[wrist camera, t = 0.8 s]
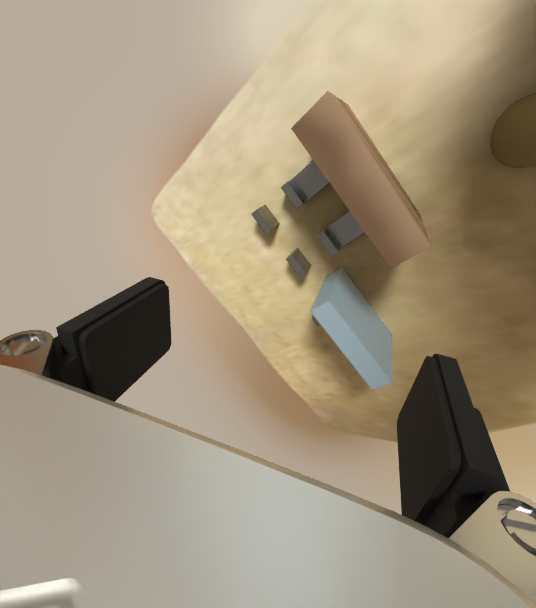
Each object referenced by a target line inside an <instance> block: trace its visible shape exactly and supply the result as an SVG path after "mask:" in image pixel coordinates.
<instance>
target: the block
mask: <svg viewBox="0 0 536 608" xmlns="http://www.w3.org/2000/svg"><path fill="white" fill-rule="evenodd" d="M310 312H311V313H312V314H313V317H312V318H313V321H314V323H315V324H316V325H317V326H320V325H321V326H322V327H323V328H324V329H325V331H326V332H327V333H328V335H329V336H330V337H331V338H332V340H333V341H334V342H335V343H336V345H337V346H338V347H339V349H340V350H341V351H342V352H343V354H344V355H345V356H346V357H347V359H348V360H349V361H350V363H351V364H352V365H353V366H354V368H355V369H356V370H357V371H358V373H359V374H360V375H361V377H362V378H363V379H364V380H365V382H366V383H367V384H368V385H369V387H370V388H371V389H372V390H374V389H377V388H380V387H383V386H386V385H389V384H392V334H391V333H390V331H389V330H388V329H387V327H386V326H385V325H384V323H383V322H382V321H381V319H380V318H379V317H378V315H377V314H376V312H375V311H374V310H373V308H372V307H371V306H370V304H369V303H368V302H367V300H366V299H365V298H364V296H363V295H362V294H361V292H360V291H359V289H358V288H357V287H356V285H355V284H354V283H353V281H352V280H351V279H350V277H349V276H348V275H347V273H346V272H345V270H344V269H343V268H342V267H341V268H339V269H338V270H336V271H335V272H333V273H331V274H330V275H328V276H327V277H326V279H325V281H324V283H323V285H322V287H321V289H320V292H319V294H318V296H317V298H316V300H315V302H314V305H313V307H312V309H311V311H310Z"/></svg>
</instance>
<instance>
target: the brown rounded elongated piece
mask: <svg viewBox="0 0 536 608" xmlns="http://www.w3.org/2000/svg"><path fill="white" fill-rule="evenodd" d="M491 147H492V151H493V154H494V155H495V157H496V158H497V159H498V161H500V162H501V163H503V164H505V165H507V166H512V167H526V166H533V165H536V94H532V95H529V96H527V97H525V98H523V99H521V100H519V101H517V102H515V103H514V104H513V105H512V106H511V107H509V108H508V109H507V110H506V111H505V112H504V113H503V115H502V116H501V117H500V118H499V120H498V121H497V123H496V125H495V127H494V130H493V132H492V138H491Z"/></svg>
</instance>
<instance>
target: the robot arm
mask: <svg viewBox="0 0 536 608" xmlns="http://www.w3.org/2000/svg"><path fill="white" fill-rule="evenodd" d="M56 329H57V332H58V336H57V337H55V338H54V339H53V336H52V335H51V334H50V333H48V332H46V331H41V330H28V331H22V332H19V333H15V334H12V335H10V336H7V337H5V338H3V339H2V340H0V608H536V503H534V502H533V501H531V500H529V499H527V498H525V497H523V496H521V495H519V494H516V493H513V492H510V490H509V487H508V485H507V482H506V479H505V477H504V474H503V471H502V469H501V466H500V463H499V461H498V458H497V455H496V453H495V450H494V448H493V445H492V442H491V439H490V437H489V434H488V431H487V429H486V426H485V423H484V421H483V418H482V415H481V413H480V412H479V410H477V409H476V408H474V407H473V404H472V401H471V399H470V396H469V393H468V390H467V387H466V385H465V382H464V379H463V376H462V373H461V371H460V368H459V365H458V362H457V360H456V359H454V358H451V357H447V356H443V355H439V354H434V355H433V357H429V356H427V357H426V358H425V360H424V362H423V364H422V366H421V369H420V371H419V373H418V375H417V377H416V379H415V381H414V384H413V386H412V388H411V390H410V392H409V394H408V396H407V399H406V401H405V403H404V405H403V407H402V409H401V412H400V414H399V416H398V420H397V436H398V454H399V472H400V489H401V507H402V515H400V514H398V513H396V512H393V511H391V510H389V509H386V508H384V507H381V506H379V505H377V504H374V503H372V502H369V501H367V500H364V499H362V498H360V497H357V496H355V495H352V494H350V493H348V492H345V491H343V490H340V489H337V488H335V487H333V486H330V485H328V484H325V483H323V482H320V481H318V480H315V479H313V478H310V477H307V476H305V475H302V474H300V473H297V472H294V471H292V470H290V469H287V468H284V467H282V466H279V465H277V464H274V463H272V462H269V461H267V460H264V459H262V458H259V457H257V456H254V455H251V454H249V453H246V452H244V451H241V450H239V449H236V448H234V447H231V446H228V445H226V444H223V443H220V442H218V441H215V440H213V439H210V438H208V437H205V436H202V435H200V434H197V433H195V432H192V431H190V430H187V429H184V428H182V427H179V426H177V425H174V424H171V423H169V422H166V421H163V420H161V419H158V418H156V417H153V416H150V415H148V414H145V413H142V412H140V411H137V410H135V409H132V408H129V407H127V406H124V405H121V404H118V403H116V402H115V401H116V400H117V399H118V398H119V397H120V396H121V395H122V394H123V393H124V392H125V391H126V390H127V389H128V388H129V387H130V386H132V385H133V384H134V383H135V382H136V381H137V380H138V379H139V378H140V377H141V376H142V375H143V374H144V373H145V372H146V371H147V370H148V369H149V368H151V367H152V365H154V364H155V363H156V362H157V361H158V360H159V359H160V358H161V357H162V356H163V355H164V354H165V353H166V352H167V351H168V350H169V349H170V346H171V327H170V305H169V289H168V286H166V284H165V282H164V281H163V280H159V279H155V278H151V277H148V278H146V279H144V280H142V281H140V282H138V283H136V284H135V285H133V286H131V287H129V288H127V289H126V290H124V291H122V292H120V293H118V294H117V295H115V296H113V297H111V298H109V299H107V300H106V301H104V302H102V303H100V304H98V305H96V306H95V307H93V308H91V309H89V310H88V311H85V312H84V313H82V314H80V315H78V316H77V317H75V318H73V319H71V320H69V321H67V322H65V323H64V324H62V325H60V326H58V327H57V328H56Z"/></svg>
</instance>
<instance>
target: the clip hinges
mask: <svg viewBox="0 0 536 608" xmlns="http://www.w3.org/2000/svg"><path fill="white" fill-rule="evenodd" d="M328 183H329V181H328V180H327V178H326V177H325V176H324V174H323V173H322V171H321V170H320V168H319V167H318V166H317V164H316V163H315V161H314V160H313V161H312V162H311V163H310V164H308V165H307V166H306V167H305V168H304V169H303V170H302V171H301V172H300V173H298V174H297V175H296V176H295V177H294V178H293V179H292V180H290V181H288V182H287V183H286V184H284V185H283V186H282V187H281V189H282V190H283V191H284V193H285V194H286V196H287V197H288V198H289V200H290V201H291V202H292V204H293V205H294V206H295V208H296V209H297V208H299V207H300V206H301V205H302V204H304V203H305V202H306V201H307V200H309V199H310V198H311V197H312V196H313V195H315V194H316V193H317V192H318V191H320V190H321V189H322V188H323V187H324V186H326V185H327V184H328ZM251 215H252V216H253V217H254V219H255V220H256V221H257V222H258V224H259V225H260V226H261V228H262V229H263V230H264V231H265V233H266V234H267V233H268V232H269V231H271V230H272V229H273V228H274V227H276V226H277V225H278V224H279V222H278V221H277V220H276V218H275V217H274V216H273V214H272V213H271V212H270V210H269V209H268V208H267V206H266V205H264V206H262V207H260V208H259V209H257V210H256V211H255V212H253V213H252V214H251ZM362 233H364V231H363V229H362V228H361V227H360V225H359V224H358V222H357V221H356V220H355V218H354V217H353V215H352V214H351V212H350V211H347V212H346V213H344V214H343V215H342V216H340V217H339V218H338V219H336V220H335V221H333V222H332V223H331V224H329V225H328V226H327V227H325V228H324V229H323V230H321V232H320V233H319V234H318V236H317V237H318V239H319V240H320V241H321V243H322V244H323V245H324V247H325V248H326V250H327V251H328V252H329V254H330V255H331V256H333V255H335V254H336V253H338V252H339V250H340V248H341V247H343V246H344V245H346V244H347V243H349V242H350V241H352V240H353V239H355V238H356V237H358V236H359V235H361V234H362ZM286 260H287V261H288V262H289V264H290V265H291V266H292V268H293V269H294V270H295V271H296V273H297V274H298V275H299V277H301V276H303V275H304V274H306V273H307V271H308V269H309V268H310V266H311V264H310V263H309V262H308V260H307V259H306V258H305V256H304V255H303V254H302V252H301V251H300V250H299V248H296V249H295V250H294V251H292V252H291V254H290V255H289V256H288V257H287V258H286Z"/></svg>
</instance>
